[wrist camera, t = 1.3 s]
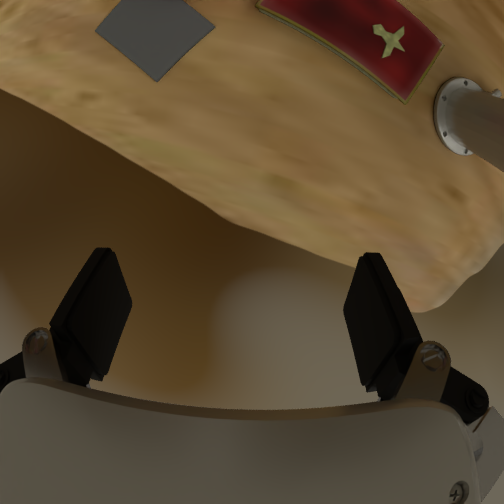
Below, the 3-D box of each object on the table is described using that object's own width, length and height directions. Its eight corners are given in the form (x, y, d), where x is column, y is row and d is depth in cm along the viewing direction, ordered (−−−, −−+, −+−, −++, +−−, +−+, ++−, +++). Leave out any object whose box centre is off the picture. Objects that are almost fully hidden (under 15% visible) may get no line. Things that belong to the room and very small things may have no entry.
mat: (148, -24, 19) (146, -24, 18) (215, 27, 24) (215, 26, 24) (96, 31, 23) (94, 31, 22) (157, 81, 28) (156, 82, 28)
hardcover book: (301, -47, 17) (306, -59, 14) (430, 43, 23) (447, 43, 20) (254, 13, 24) (254, 5, 20) (392, 100, 29) (406, 105, 26)
